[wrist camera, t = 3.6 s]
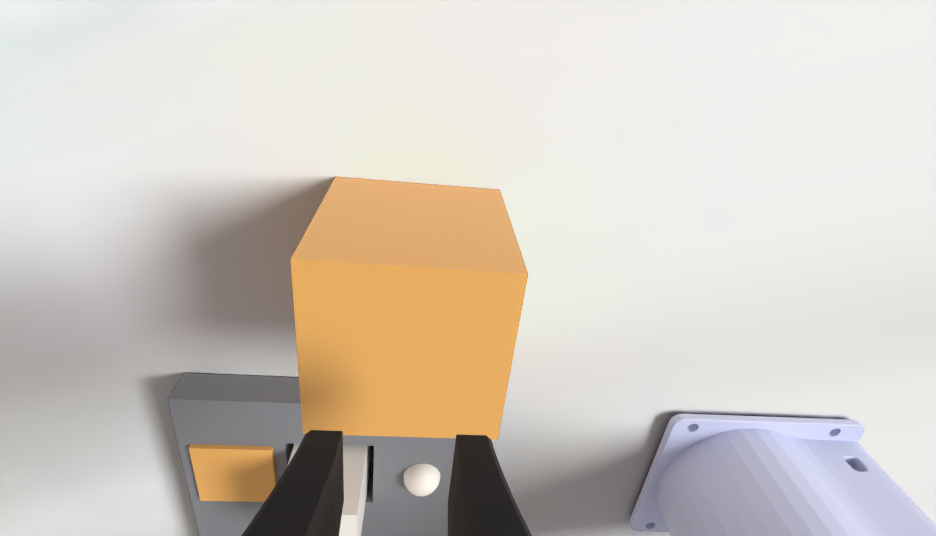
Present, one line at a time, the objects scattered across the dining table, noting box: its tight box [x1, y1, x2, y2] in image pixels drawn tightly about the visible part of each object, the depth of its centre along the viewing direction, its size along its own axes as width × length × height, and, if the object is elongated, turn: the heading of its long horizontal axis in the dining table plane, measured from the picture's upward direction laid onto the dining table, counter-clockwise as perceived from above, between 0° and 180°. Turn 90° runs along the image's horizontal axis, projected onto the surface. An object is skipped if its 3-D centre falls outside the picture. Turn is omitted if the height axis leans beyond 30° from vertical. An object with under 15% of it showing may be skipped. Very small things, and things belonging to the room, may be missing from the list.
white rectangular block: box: [288, 444, 370, 536], centre depth 21 cm, size 3×3×4 cm
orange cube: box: [290, 177, 528, 440], centre depth 16 cm, size 6×6×6 cm
